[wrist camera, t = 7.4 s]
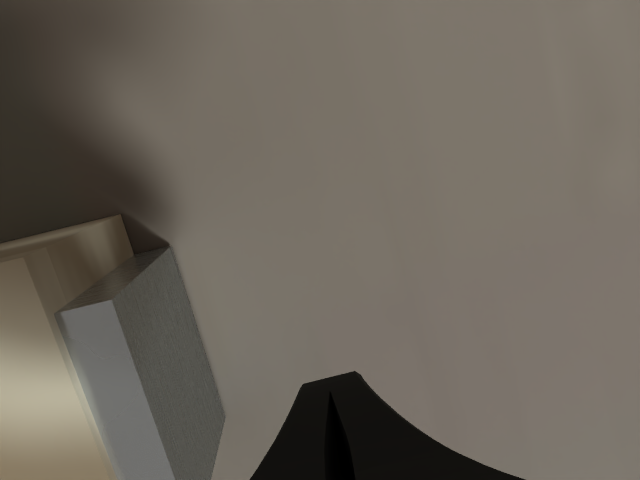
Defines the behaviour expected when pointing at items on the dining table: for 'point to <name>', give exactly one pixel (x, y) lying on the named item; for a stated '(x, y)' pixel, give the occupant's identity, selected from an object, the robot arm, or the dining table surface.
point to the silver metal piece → (145, 370)
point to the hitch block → (50, 352)
